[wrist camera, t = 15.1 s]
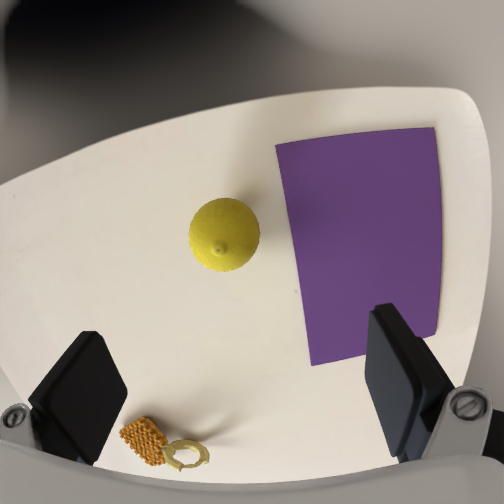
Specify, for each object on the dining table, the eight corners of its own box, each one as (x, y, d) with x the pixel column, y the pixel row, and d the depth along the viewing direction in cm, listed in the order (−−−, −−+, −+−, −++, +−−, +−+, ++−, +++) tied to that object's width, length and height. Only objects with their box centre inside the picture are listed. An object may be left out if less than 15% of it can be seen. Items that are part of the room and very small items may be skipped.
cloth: (275, 145, 26) (275, 144, 25) (432, 127, 24) (433, 127, 24) (311, 364, 33) (311, 366, 33) (434, 333, 32) (435, 334, 31)
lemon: (196, 194, 27) (172, 213, 20) (257, 189, 27) (257, 206, 19) (203, 252, 29) (184, 289, 21) (261, 248, 29) (262, 285, 21)
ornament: (114, 464, 36) (201, 497, 32) (101, 417, 34) (198, 452, 31) (134, 442, 42) (216, 469, 39) (126, 396, 41) (216, 423, 38)
